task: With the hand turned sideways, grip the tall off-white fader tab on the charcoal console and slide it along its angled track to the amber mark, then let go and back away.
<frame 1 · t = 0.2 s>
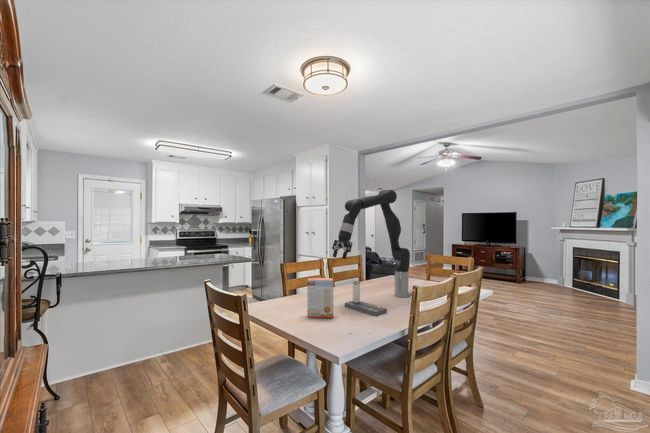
hand: (338, 257, 185), 31 cm above the table, tool tilted 20°, fingers open, 8 cm apart
cracker box: (320, 316, 173), on the table
fader console: (365, 309, 186), on the table
fader tab: (356, 291, 191), point 9 cm above the table, slide at 0.0 cm
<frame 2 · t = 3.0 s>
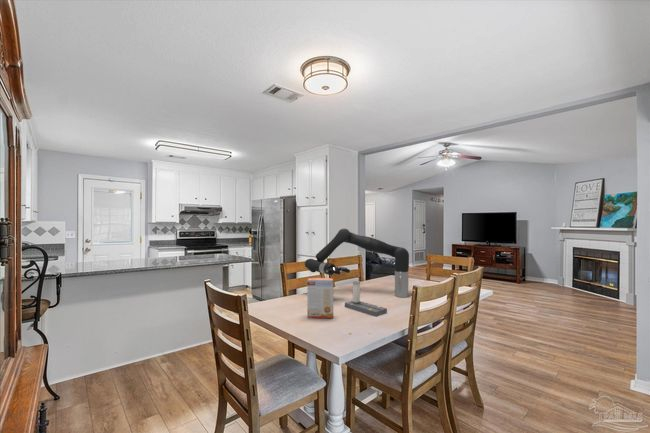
hand: (344, 271, 198), 20 cm above the table, tool horizontal, fingers open, 8 cm apart
nothing on the table moved.
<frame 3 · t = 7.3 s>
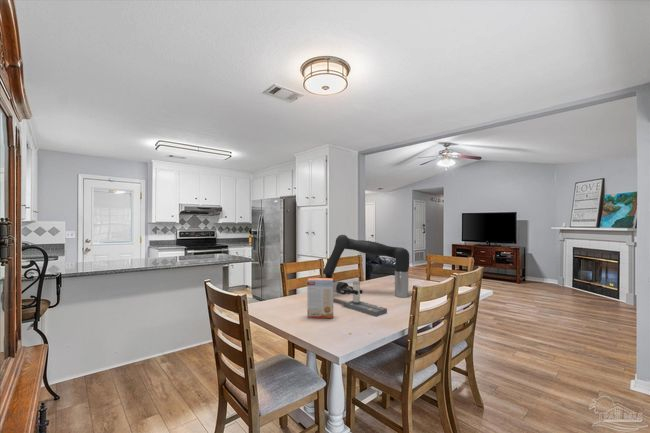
hand: (359, 292, 189), 10 cm above the table, tool horizontal, fingers closed on fader tab, 3 cm apart
fader tab: (356, 291, 191), point 9 cm above the table, slide at 0.0 cm, touching gripper
everything else where it was.
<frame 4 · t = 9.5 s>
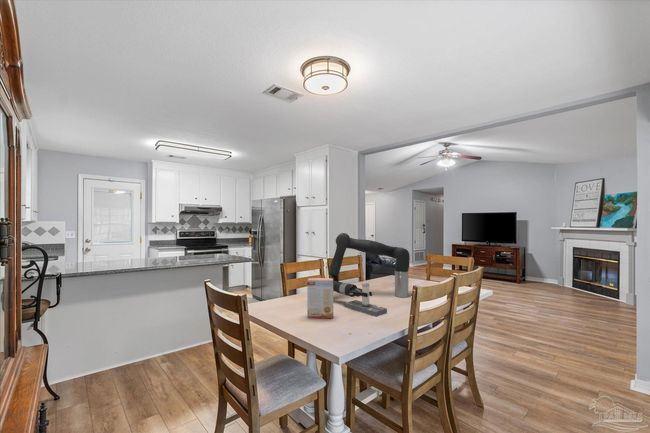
hand: (369, 294, 183), 10 cm above the table, tool horizontal, fingers closed on fader tab, 3 cm apart
fader tab: (365, 294, 185), point 9 cm above the table, slide at 7.4 cm, touching gripper
everything else where it was.
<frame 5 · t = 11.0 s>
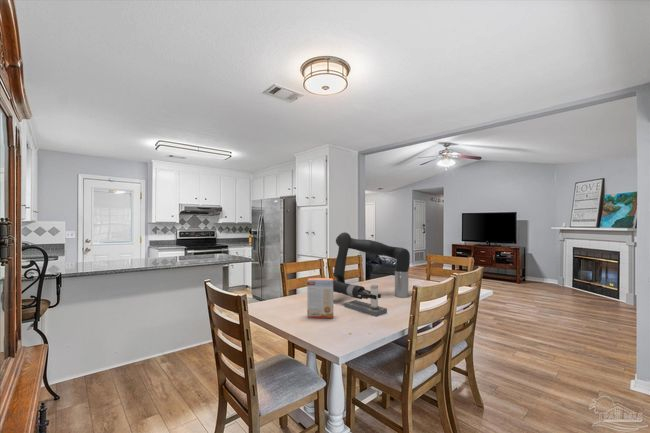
hand: (378, 296, 178), 10 cm above the table, tool horizontal, fingers closed on fader tab, 3 cm apart
fader tab: (374, 296, 181), point 9 cm above the table, slide at 13.9 cm, touching gripper
everything else where it was.
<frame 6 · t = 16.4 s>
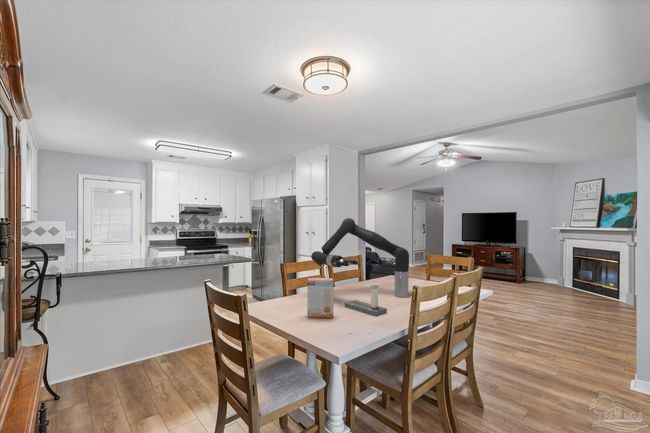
hand: (352, 263, 193), 26 cm above the table, tool horizontal, fingers open, 8 cm apart
fader tab: (374, 296, 180), point 9 cm above the table, slide at 14.0 cm
everything else where it was.
at the end: fader tab slide at 14.0 cm; the gripper is holding nothing; cracker box moved 0.2 cm from its start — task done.
